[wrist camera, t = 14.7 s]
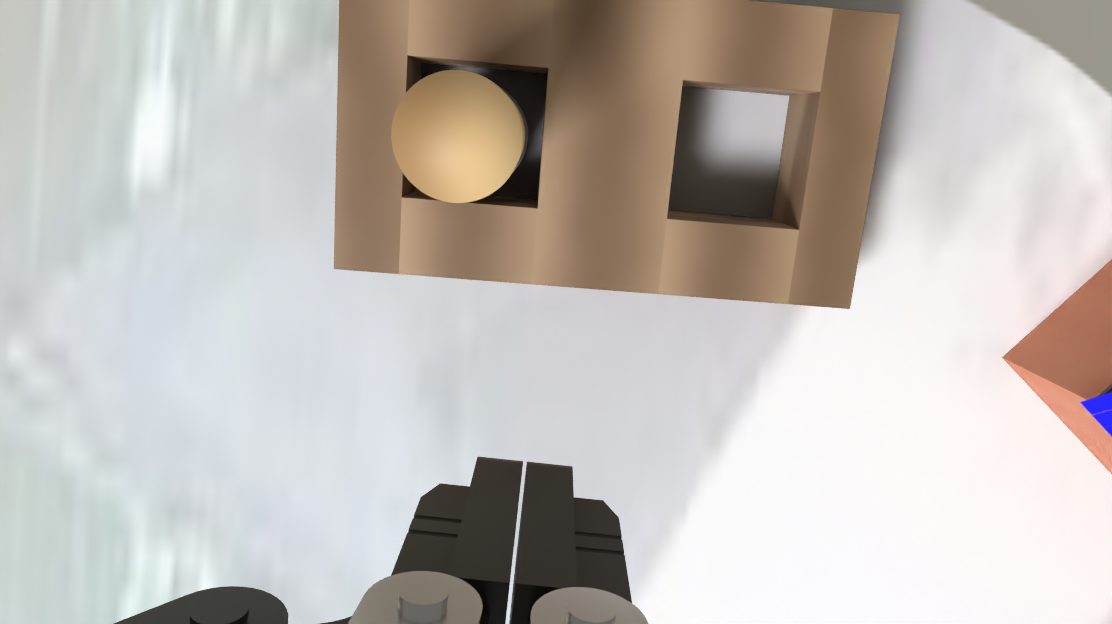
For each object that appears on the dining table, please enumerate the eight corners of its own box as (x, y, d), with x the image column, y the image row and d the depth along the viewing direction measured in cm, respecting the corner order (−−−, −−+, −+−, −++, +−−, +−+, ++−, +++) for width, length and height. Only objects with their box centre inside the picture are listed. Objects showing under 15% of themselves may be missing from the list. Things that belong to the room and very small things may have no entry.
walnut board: (860, 26, 35) (900, 14, 32) (817, 290, 38) (849, 308, 34) (362, -20, 34) (340, -39, 31) (355, 254, 37) (333, 268, 33)
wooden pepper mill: (532, 90, 36) (530, 72, 24) (525, 184, 37) (519, 211, 25) (438, 81, 36) (390, 60, 24) (433, 176, 36) (384, 200, 25)
